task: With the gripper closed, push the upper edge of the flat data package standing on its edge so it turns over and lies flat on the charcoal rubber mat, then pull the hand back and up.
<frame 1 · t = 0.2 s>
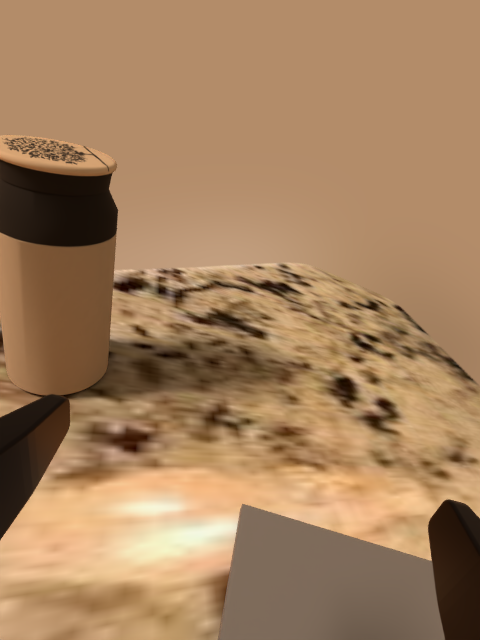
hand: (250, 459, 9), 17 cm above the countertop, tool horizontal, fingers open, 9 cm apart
travel mug: (60, 368, 33), on the countertop
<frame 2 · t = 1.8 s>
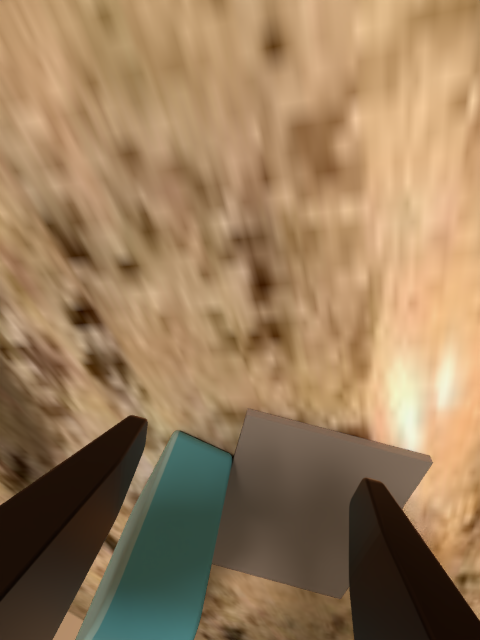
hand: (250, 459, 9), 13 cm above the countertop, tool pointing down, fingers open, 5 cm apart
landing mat: (300, 513, 29), on the countertop
data package: (180, 478, 29), on the countertop
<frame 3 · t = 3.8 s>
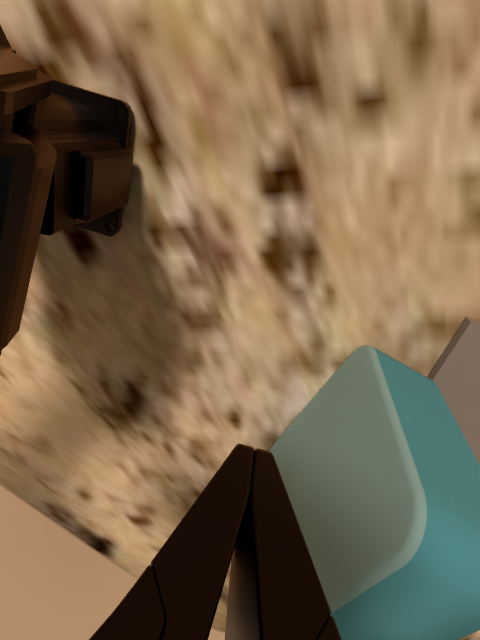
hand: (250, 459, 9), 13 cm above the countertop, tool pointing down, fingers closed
data package: (337, 414, 24), on the countertop
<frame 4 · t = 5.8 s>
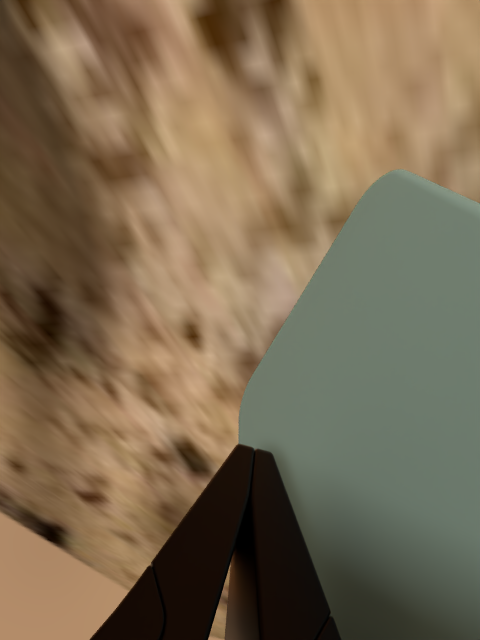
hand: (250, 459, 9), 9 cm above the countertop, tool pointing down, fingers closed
data package: (340, 316, 16), on the countertop
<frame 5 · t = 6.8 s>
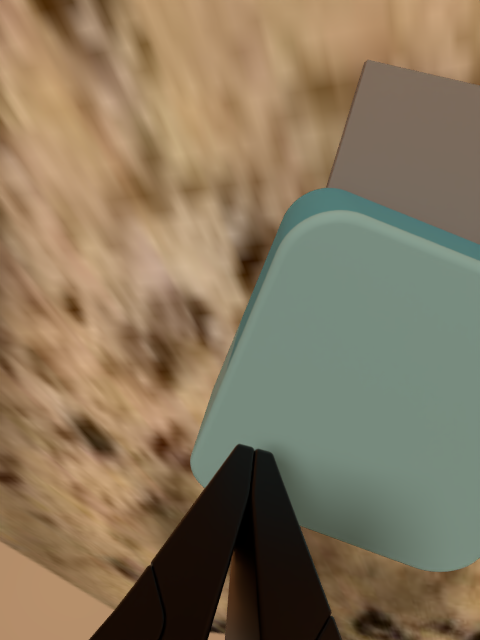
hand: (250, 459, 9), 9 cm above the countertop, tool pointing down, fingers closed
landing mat: (429, 342, 16), on the countertop
data package: (231, 336, 14), point 3 cm above the countertop, touching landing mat
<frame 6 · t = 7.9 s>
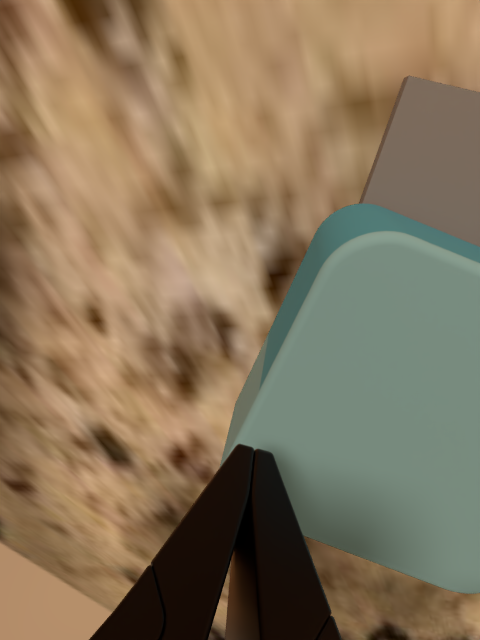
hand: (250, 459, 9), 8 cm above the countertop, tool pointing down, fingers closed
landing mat: (459, 358, 16), on the countertop
data package: (261, 352, 14), point 3 cm above the countertop, touching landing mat
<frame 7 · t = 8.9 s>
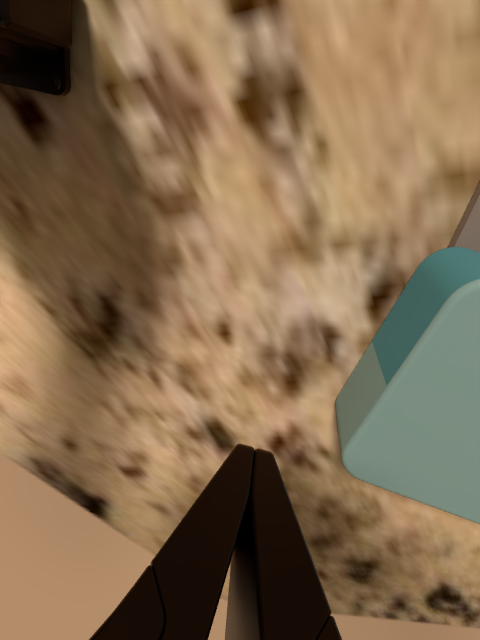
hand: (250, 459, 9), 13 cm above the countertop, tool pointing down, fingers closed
data package: (376, 357, 18), point 3 cm above the countertop, touching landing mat
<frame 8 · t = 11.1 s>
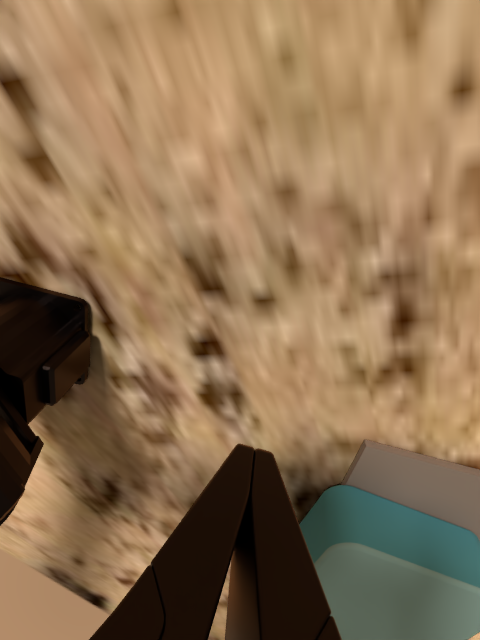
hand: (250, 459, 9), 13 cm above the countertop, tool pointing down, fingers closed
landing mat: (400, 540, 29), on the countertop
data package: (295, 552, 27), point 3 cm above the countertop, touching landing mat
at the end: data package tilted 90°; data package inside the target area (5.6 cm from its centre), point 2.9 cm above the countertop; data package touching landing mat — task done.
